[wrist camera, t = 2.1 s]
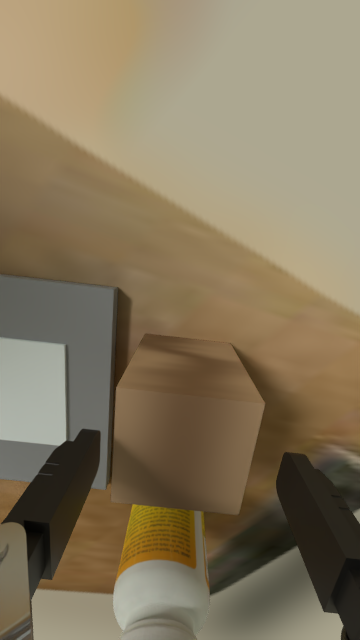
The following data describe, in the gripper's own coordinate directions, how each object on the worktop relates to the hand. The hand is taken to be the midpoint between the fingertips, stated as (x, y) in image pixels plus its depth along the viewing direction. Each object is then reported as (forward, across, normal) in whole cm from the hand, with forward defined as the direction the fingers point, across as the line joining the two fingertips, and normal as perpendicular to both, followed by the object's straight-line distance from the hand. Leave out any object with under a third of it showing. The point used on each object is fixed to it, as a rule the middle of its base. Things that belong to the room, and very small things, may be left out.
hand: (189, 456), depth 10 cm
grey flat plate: (+7, +12, +2) cm, 14 cm away
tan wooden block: (+7, 0, 0) cm, 7 cm away
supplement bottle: (+7, 0, +10) cm, 12 cm away
